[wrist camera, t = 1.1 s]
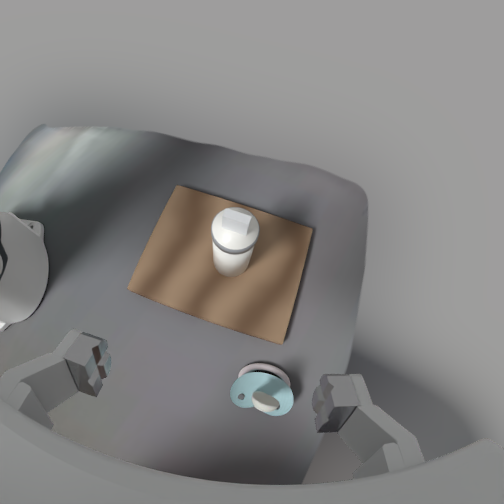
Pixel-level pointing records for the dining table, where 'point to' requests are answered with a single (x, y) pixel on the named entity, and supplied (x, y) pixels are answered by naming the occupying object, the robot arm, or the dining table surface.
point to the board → (214, 283)
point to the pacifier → (263, 389)
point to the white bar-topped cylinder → (233, 240)
